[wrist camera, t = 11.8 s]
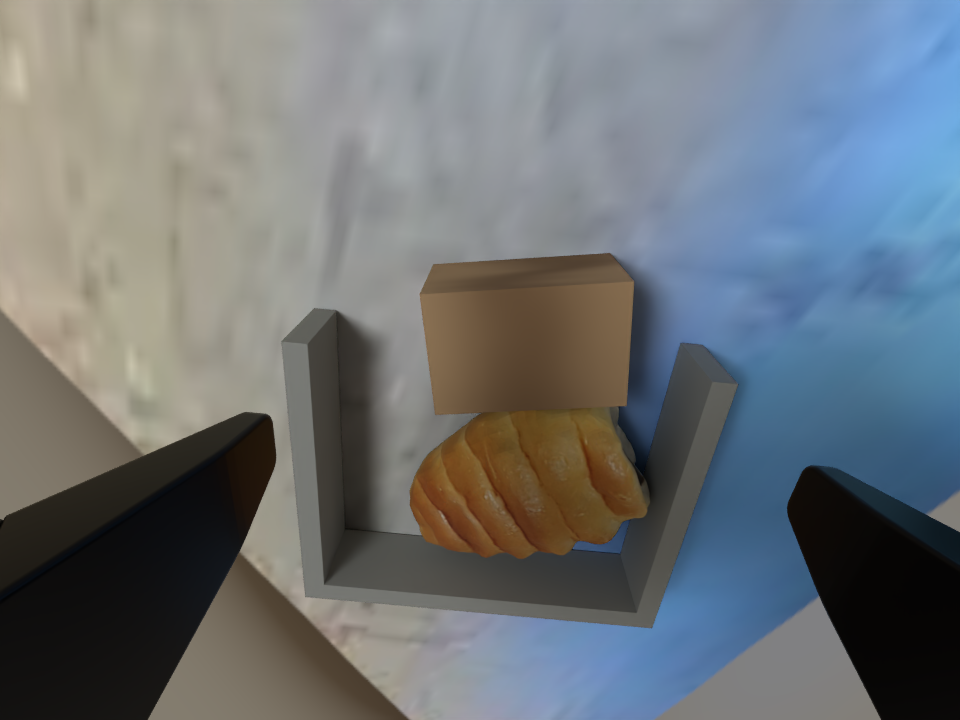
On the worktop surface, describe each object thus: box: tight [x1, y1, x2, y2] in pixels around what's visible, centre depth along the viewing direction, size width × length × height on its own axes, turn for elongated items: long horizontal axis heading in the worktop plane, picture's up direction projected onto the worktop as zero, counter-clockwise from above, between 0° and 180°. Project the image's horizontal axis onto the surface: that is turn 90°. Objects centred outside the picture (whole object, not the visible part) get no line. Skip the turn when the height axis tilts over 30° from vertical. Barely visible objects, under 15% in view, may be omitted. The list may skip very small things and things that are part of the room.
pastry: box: [410, 406, 650, 559], centre depth 19 cm, size 9×7×4 cm
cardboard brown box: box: [420, 253, 634, 415], centre depth 16 cm, size 6×4×4 cm, turn 94°
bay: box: [281, 308, 738, 628], centre depth 19 cm, size 14×11×3 cm
